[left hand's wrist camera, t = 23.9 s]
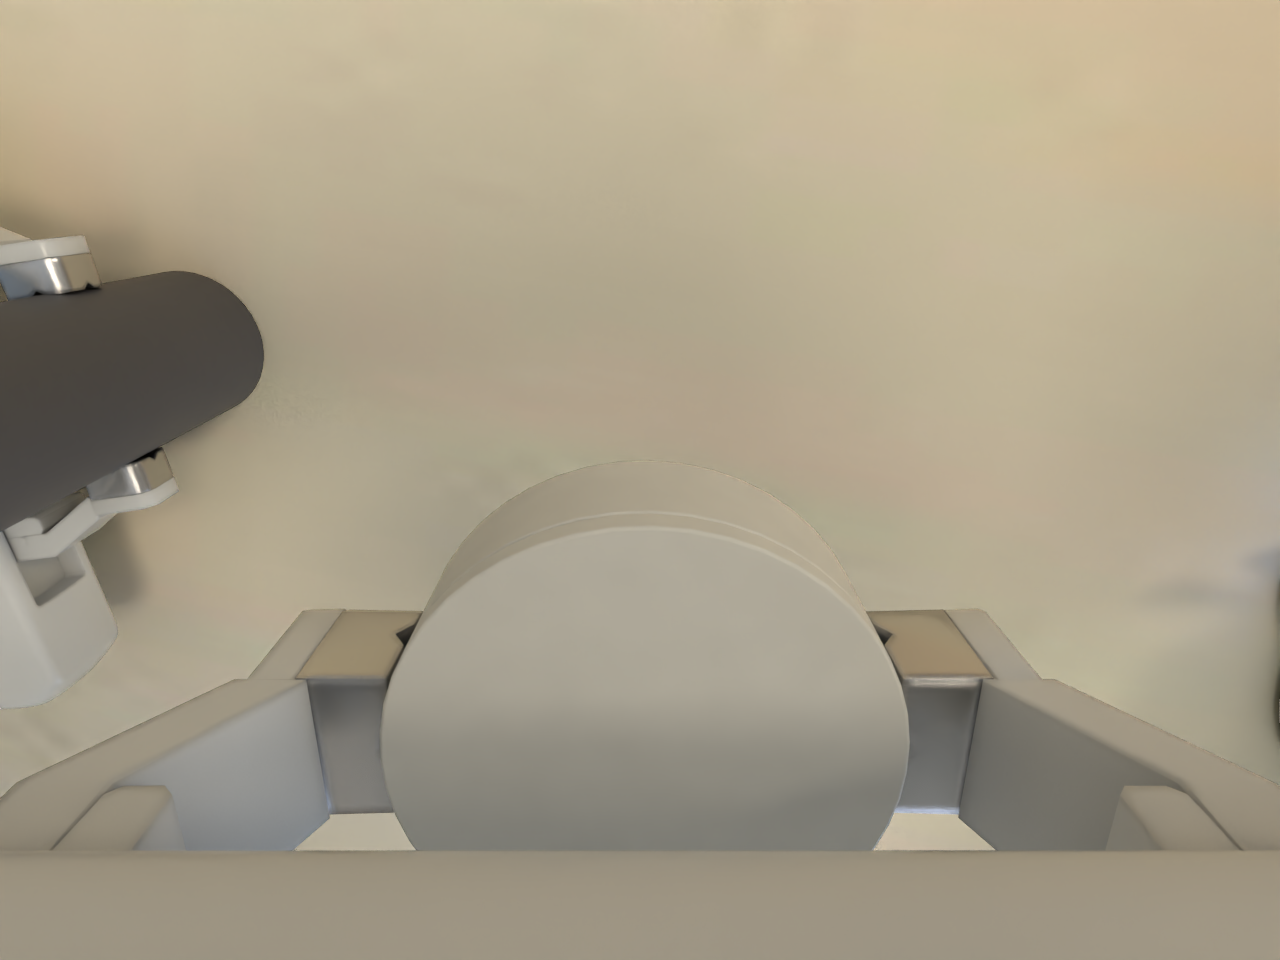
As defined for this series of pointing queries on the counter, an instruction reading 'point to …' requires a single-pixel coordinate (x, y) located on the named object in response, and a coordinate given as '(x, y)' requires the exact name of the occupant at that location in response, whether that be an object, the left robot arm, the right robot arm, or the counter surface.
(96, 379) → the dark gray cylinder
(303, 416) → the counter surface
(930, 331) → the counter surface
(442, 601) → the lid
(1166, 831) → the left robot arm
